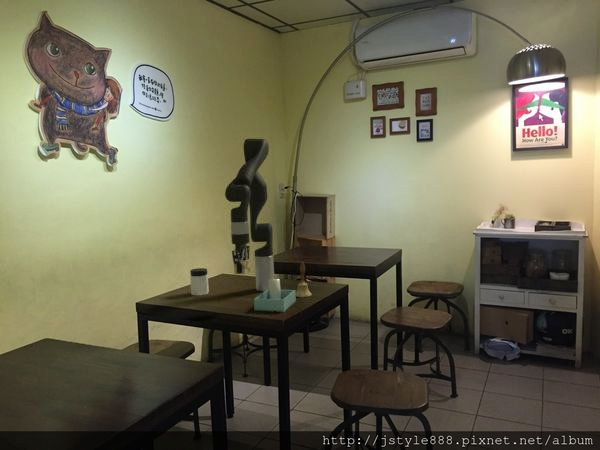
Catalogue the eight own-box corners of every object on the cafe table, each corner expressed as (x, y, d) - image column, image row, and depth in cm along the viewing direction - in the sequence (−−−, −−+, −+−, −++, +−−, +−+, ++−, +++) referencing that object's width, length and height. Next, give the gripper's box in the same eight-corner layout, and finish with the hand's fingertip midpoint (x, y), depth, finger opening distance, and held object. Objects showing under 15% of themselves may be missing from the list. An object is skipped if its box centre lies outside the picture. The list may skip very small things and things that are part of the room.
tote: (268, 300, 217) (267, 289, 216) (295, 301, 213) (295, 290, 212) (254, 310, 200) (253, 299, 200) (284, 311, 196) (283, 300, 196)
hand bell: (303, 292, 229) (301, 259, 228) (315, 294, 223) (314, 261, 222) (290, 295, 223) (289, 262, 222) (303, 298, 217) (301, 264, 216)
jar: (207, 295, 230) (205, 271, 229) (190, 296, 230) (188, 271, 229) (209, 291, 239) (208, 267, 238) (193, 291, 239) (192, 268, 238)
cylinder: (273, 300, 213) (271, 278, 213) (283, 300, 211) (281, 278, 211) (268, 303, 209) (266, 280, 208) (278, 303, 207) (276, 280, 206)
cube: (239, 271, 205) (238, 260, 205) (250, 271, 204) (249, 260, 203) (234, 274, 200) (233, 262, 200) (245, 274, 199) (244, 262, 198)
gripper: (241, 234, 192) (243, 275, 194) (254, 230, 206) (256, 268, 208) (224, 234, 194) (227, 275, 196) (238, 230, 208) (240, 268, 210)
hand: (242, 271), depth 202 cm, fingers closed on cube, 5 cm apart
